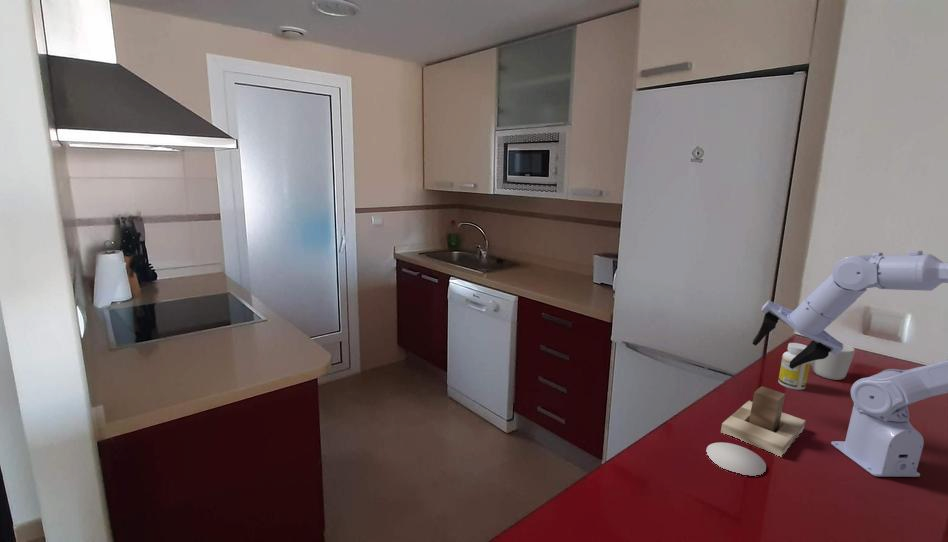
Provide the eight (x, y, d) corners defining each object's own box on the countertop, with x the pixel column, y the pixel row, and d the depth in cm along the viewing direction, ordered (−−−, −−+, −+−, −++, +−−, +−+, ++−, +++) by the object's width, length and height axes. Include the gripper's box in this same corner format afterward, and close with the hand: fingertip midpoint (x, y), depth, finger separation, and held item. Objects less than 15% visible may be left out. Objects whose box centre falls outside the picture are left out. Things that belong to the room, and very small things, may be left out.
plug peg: (777, 432, 90) (785, 393, 88) (770, 439, 87) (778, 400, 85) (754, 423, 92) (761, 386, 91) (747, 430, 90) (754, 392, 88)
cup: (802, 377, 114) (808, 347, 112) (791, 365, 122) (796, 336, 120) (854, 385, 111) (861, 353, 109) (839, 371, 119) (846, 341, 117)
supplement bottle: (796, 380, 112) (804, 342, 110) (810, 391, 107) (818, 351, 105) (773, 379, 113) (780, 340, 111) (785, 389, 108) (793, 349, 105)
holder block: (803, 429, 91) (805, 420, 90) (781, 457, 81) (783, 447, 81) (747, 409, 98) (748, 400, 97) (720, 432, 89) (722, 423, 88)
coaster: (778, 476, 76) (778, 474, 76) (724, 476, 76) (724, 474, 76) (745, 444, 85) (745, 442, 85) (696, 444, 85) (696, 442, 85)
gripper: (861, 320, 88) (809, 365, 96) (785, 277, 93) (742, 323, 101) (861, 339, 83) (807, 384, 91) (781, 292, 87) (736, 339, 96)
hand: (772, 353), depth 96 cm, fingers open, 7 cm apart
